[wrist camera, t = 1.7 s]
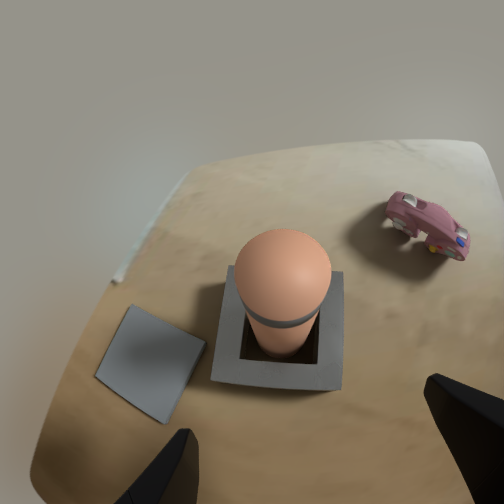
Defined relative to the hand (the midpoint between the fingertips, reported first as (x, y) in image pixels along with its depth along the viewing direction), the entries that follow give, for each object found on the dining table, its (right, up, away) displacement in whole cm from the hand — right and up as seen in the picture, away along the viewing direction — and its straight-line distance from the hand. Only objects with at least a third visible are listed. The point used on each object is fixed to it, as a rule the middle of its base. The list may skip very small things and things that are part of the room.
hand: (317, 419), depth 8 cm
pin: (0, -1, +14) cm, 14 cm away
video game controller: (+15, +7, +17) cm, 24 cm away
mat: (-11, -4, +13) cm, 18 cm away
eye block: (0, -1, +13) cm, 14 cm away
